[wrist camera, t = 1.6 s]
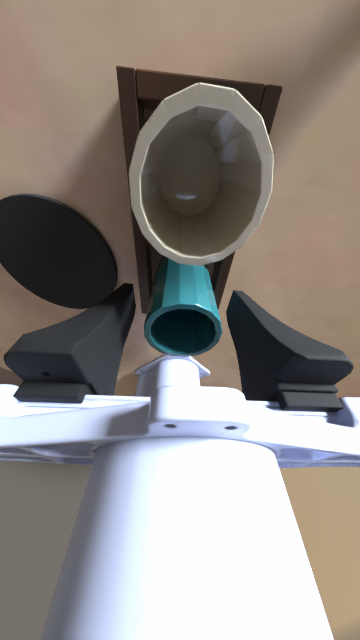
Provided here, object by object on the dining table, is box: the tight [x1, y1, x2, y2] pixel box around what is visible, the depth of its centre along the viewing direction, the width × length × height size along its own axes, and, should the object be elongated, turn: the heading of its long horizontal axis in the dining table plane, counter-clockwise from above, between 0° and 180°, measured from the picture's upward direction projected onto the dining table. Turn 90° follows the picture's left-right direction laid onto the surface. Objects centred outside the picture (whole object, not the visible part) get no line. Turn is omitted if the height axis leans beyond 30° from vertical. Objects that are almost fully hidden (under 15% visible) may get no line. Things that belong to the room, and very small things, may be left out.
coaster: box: [0, 194, 118, 309], centre depth 15 cm, size 10×10×1 cm
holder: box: [116, 66, 282, 314], centre depth 13 cm, size 7×14×2 cm, turn 176°
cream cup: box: [129, 82, 274, 266], centre depth 8 cm, size 4×4×8 cm
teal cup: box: [144, 256, 222, 357], centre depth 13 cm, size 4×4×8 cm
